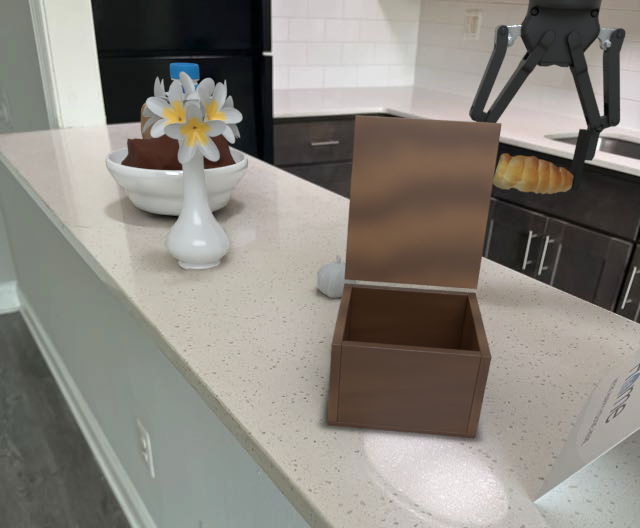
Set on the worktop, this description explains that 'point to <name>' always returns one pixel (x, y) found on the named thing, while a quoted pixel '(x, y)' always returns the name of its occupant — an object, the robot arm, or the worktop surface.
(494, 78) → the robot arm
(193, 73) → the beverage bottle
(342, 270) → the garlic
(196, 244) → the flower vase
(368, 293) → the bread box
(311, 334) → the worktop surface
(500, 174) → the pastry
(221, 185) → the white bowl
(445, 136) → the lid
